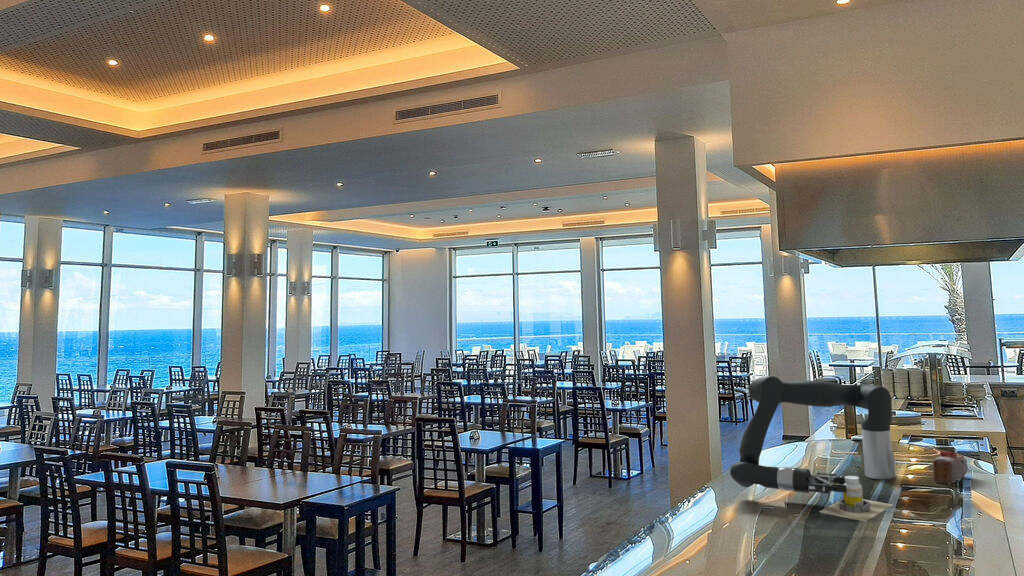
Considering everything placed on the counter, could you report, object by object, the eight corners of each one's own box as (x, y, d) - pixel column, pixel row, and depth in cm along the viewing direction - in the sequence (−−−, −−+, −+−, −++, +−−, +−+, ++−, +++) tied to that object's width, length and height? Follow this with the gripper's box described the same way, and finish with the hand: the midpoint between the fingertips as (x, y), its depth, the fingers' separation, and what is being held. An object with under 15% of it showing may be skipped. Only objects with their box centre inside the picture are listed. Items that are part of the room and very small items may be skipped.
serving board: (848, 499, 221) (847, 496, 221) (893, 508, 210) (893, 504, 210) (818, 515, 208) (818, 511, 208) (865, 525, 197) (865, 521, 197)
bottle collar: (866, 504, 212) (865, 498, 212) (873, 513, 204) (872, 507, 204) (836, 503, 214) (836, 497, 214) (842, 512, 206) (841, 506, 206)
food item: (944, 473, 243) (942, 446, 243) (970, 477, 237) (968, 449, 237) (931, 482, 234) (929, 454, 234) (957, 486, 228) (955, 457, 228)
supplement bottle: (861, 511, 206) (859, 480, 206) (842, 509, 209) (840, 478, 209) (865, 506, 210) (863, 476, 210) (846, 504, 213) (844, 474, 213)
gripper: (788, 473, 214) (843, 479, 204) (798, 463, 225) (851, 467, 216) (789, 497, 213) (845, 503, 204) (799, 485, 225) (853, 491, 216)
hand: (848, 485), depth 210 cm, fingers open, 8 cm apart
